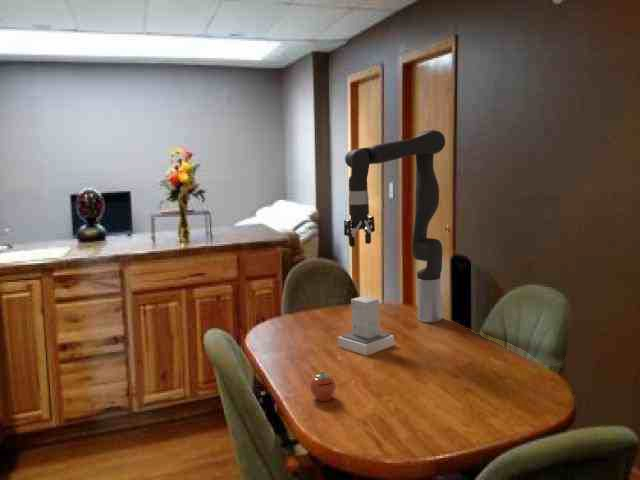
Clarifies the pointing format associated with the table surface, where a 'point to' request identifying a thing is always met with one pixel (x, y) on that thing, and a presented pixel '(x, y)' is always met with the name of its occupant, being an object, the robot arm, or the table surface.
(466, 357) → the table surface
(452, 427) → the table surface
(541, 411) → the table surface
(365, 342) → the stack base
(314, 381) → the tomato
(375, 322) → the small box
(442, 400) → the table surface
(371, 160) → the robot arm
